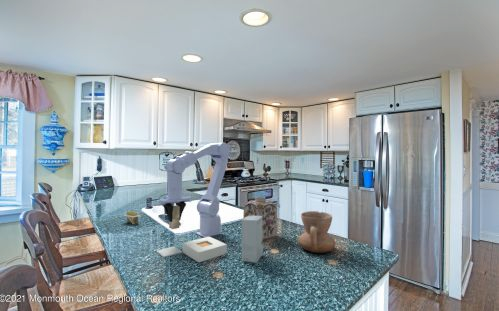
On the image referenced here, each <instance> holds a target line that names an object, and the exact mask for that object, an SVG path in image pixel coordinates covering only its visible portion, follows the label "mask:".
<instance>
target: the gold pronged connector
mask: <svg viewBox="0 0 499 311" xmlns="http://www.w3.org/2000/svg"><path fill="white" fill-rule="evenodd" d="M141 216H142V215H141V214H138V212H137V211H131V210H129V211H126V213H124V217H126V223H130V224H131V223H132V225H134V224H137V225H138V224H139V217H141Z"/></svg>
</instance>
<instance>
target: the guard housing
mask: <svg viewBox="0 0 499 311" xmlns="http://www.w3.org/2000/svg"><path fill="white" fill-rule="evenodd" d="M203 243H208V244H210V245H208V246H205V247H201V246H199V244H203ZM181 251H182V253H183V254H184V255H187V257H189V258H190V259H193V260H194V261H196V262H197V263H201V262H204V261H207V260H212V259H214V258H217V257H220V256H224V255H226V254H227V244H226V243H224V242H222V241H220V240H218V239H216V238H214V237H212V236H210V237H205V238H204V237H201V238H198V239H193V240H189V241H185V242H183V243H182V250H181Z"/></svg>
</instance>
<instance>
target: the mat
mask: <svg viewBox="0 0 499 311" xmlns="http://www.w3.org/2000/svg"><path fill="white" fill-rule="evenodd" d="M155 253H157V254H158V255H159V256H161V257H162V258H168V257H171V256H175V255H179V254H182V253H183V252H182V250H180V249H179V248H177V247H175V246H169V247H166V248H161V249H158V250H156V252H155Z"/></svg>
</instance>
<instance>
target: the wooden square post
mask: <svg viewBox="0 0 499 311" xmlns="http://www.w3.org/2000/svg"><path fill="white" fill-rule="evenodd" d="M173 206H174V207H173V213H172V222H169V221H168V223H169V224H168V225H169V226H168V228H169V229H171V230H177V229H180V220H179V214H180V206H177V205H176V204H175V205H173Z"/></svg>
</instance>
